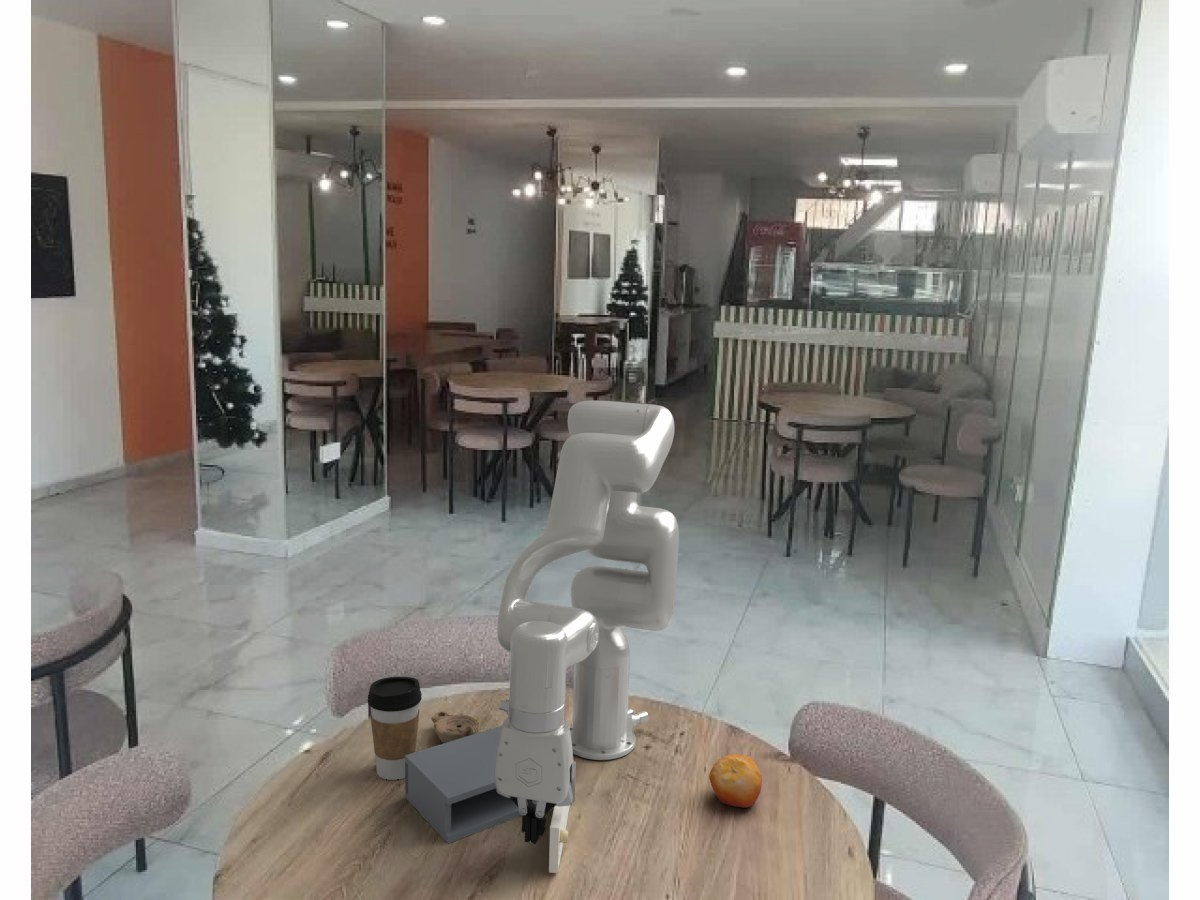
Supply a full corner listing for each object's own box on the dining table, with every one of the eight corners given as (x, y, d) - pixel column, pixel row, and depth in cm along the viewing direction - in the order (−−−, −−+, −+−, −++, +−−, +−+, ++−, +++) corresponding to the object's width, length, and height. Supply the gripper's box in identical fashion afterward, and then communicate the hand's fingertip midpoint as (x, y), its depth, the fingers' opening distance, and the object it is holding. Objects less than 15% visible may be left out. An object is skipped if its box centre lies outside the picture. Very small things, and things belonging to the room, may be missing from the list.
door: (563, 799, 139) (564, 759, 138) (577, 800, 139) (578, 760, 137) (548, 872, 121) (550, 827, 120) (565, 873, 121) (566, 828, 120)
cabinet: (516, 759, 150) (517, 720, 149) (564, 799, 139) (565, 757, 138) (405, 797, 138) (405, 755, 137) (447, 843, 127) (448, 798, 126)
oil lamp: (421, 731, 159) (421, 705, 158) (459, 720, 163) (459, 694, 162) (456, 764, 149) (456, 736, 148) (495, 751, 153) (496, 724, 152)
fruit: (770, 780, 144) (766, 752, 139) (757, 825, 139) (753, 798, 134) (721, 767, 147) (716, 740, 142) (707, 811, 142) (701, 784, 137)
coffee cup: (409, 788, 141) (408, 698, 138) (359, 780, 143) (357, 692, 140) (429, 760, 149) (429, 676, 146) (382, 754, 151) (381, 669, 148)
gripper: (474, 718, 120) (472, 843, 123) (583, 734, 116) (578, 863, 119) (494, 694, 127) (492, 813, 130) (597, 709, 123) (592, 831, 127)
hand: (533, 837), depth 125 cm, fingers closed
